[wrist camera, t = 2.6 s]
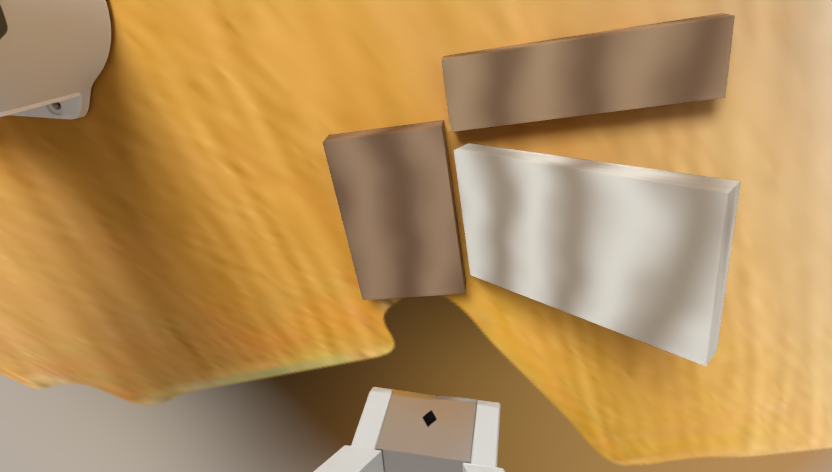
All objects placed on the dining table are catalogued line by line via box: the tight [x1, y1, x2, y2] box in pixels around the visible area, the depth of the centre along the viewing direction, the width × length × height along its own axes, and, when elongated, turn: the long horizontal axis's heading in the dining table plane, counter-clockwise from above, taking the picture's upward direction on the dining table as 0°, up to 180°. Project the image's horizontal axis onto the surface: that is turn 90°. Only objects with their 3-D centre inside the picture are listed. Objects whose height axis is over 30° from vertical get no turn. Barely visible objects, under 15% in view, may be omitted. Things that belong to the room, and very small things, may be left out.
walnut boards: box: [323, 13, 735, 300], centre depth 42 cm, size 31×21×2 cm
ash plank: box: [454, 143, 740, 366], centre depth 37 cm, size 20×12×2 cm
